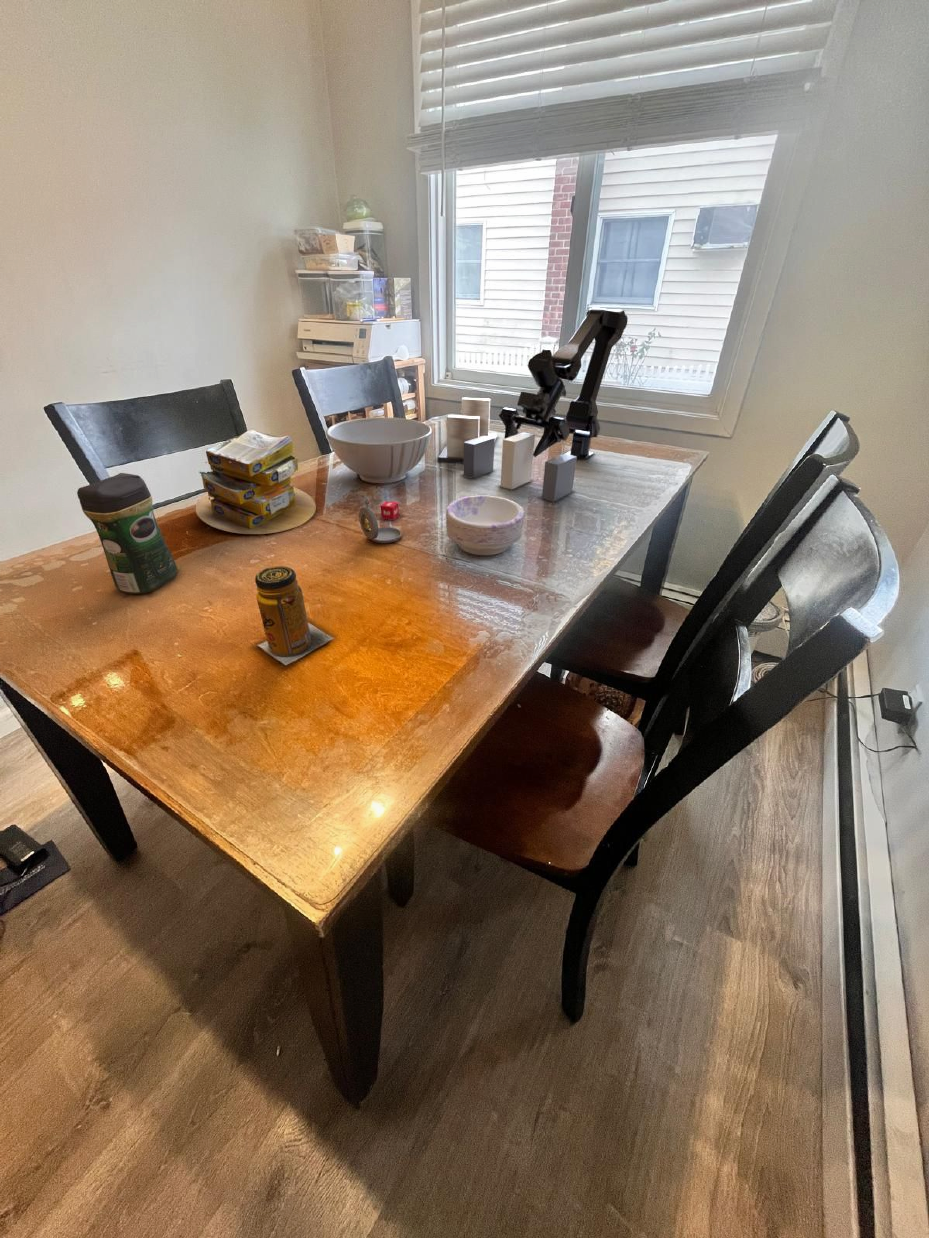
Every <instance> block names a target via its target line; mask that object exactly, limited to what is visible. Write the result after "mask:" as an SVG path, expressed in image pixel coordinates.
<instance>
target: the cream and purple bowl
mask: <svg viewBox="0 0 929 1238" xmlns="http://www.w3.org/2000/svg"><path fill="white" fill-rule="evenodd" d="M524 517H525V511H524V509H523V507H521V505H520V504H518V503H517V502H515V501H513V500H511V499H508V498H505V497H502V496H501V497H500V496H496V495H495V496H494V495H483V494H482V495H469V496H464V497H460V498H458V499H455V500H453V501H452V502H450V503H449V504H448V506H447V508H446V510H445V519H446V520H445V523H446V524H445V530H446V532H445V533H446V535H447V537H448V538H449V539H450V540H451V541H453V542H454V543H456V544H457V546H458V547H459V548H460V549H461V550H463V551H464V552H466V553H468V554H471V555H475V556H485V557H487V556H494V555H497V554H498V555H499V554H501V553H503V552H505V551H506V550H508V548H509V547H510V546H512V545H513V544H515V543H517V542H518V541H519V540H520V539H521V538H522V535H523V529H524V520H525V519H524Z"/></svg>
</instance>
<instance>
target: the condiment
mask: <svg viewBox="0 0 929 1238" xmlns="http://www.w3.org/2000/svg"><path fill="white" fill-rule="evenodd" d="M254 583H255V586H256V591H257V592H256V603H257V606H258V609H259V613H260V617H261V621H262V626H263V631H264V635H265V638H266V640H265V641H264V642H262V643H261V642H260V643H259V644H257V646H258V647H259V648H261V649H262V650H263V651H264V652H265V653H267V654H268V655H270V656H271V657H272V658H274V659H275V660H276V661H278V662H280V663H282V665H284V666H288V665H290V664H291V663H294V662H296V661H298V660H299V659H300V658H301V659H302V658H303V657H305V656H306V655H309V653H311V652H313V651H315V650H316V649H318V648H320V647H322V646H323V645H325V644H327V643H328V642H330V641H331V640H334V639H335V637H333V636H332V635H330V634H327V633H326V632H324V631H323V630H321V629H320V628H317V627H316V626H315V625H312V623H310V622H309V620H308V615H307V609H306V603H305V600H304V599H305V598H304V594H303V590H302V588H301V586H300V585H299V582H298V579H297V574H296V572H295V570H294V569H292V568H290V567H288V566H284V565H283V566H282V565H279V566H278V565H276V566H270V567H266V568H264V569H262V570H261V571H259V572H258V573H257V574H256V575H255V578H254Z"/></svg>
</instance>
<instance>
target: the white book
mask: <svg viewBox="0 0 929 1238" xmlns="http://www.w3.org/2000/svg"><path fill="white" fill-rule="evenodd" d="M535 439H536V434H534V433H530V432H521V433H518V434H517V435H514V436H511V437H508V438H505V439H504V438H503V439H502V449H501V451H502V452H501V454H502V455H501V468H500V487H501V488H504V489H508V490H514V489H516V488H519V487H521V486H522V485H525V484H528V483H529V482H531V481H532V473H533V462H534V455H533V453H534V451H535Z"/></svg>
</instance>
